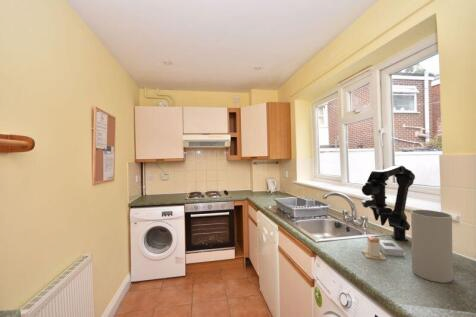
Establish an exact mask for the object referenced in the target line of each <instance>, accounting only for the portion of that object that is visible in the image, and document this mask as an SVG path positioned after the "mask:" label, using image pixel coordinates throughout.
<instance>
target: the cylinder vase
mask: <svg viewBox="0 0 476 317" xmlns="http://www.w3.org/2000/svg"><path fill="white" fill-rule="evenodd" d="M410 217H411V218H410V220H411V222H410V223H411V224H410V228H411V233H410V234H411V270H412V272H413V273H414V274H415V275H417V277H420V278H422V279H424V280H427V281H430V282H434V283H439V284H443V283H444V284H446V283H447V284H448V283H451V282H452V281H453V279H454V278H453V277H454V276H453V270H454V269H453V268H454V267H453V216H452V214H449V213H447V212H443V211H439V210H430V209H413V210H411V211H410Z"/></svg>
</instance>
